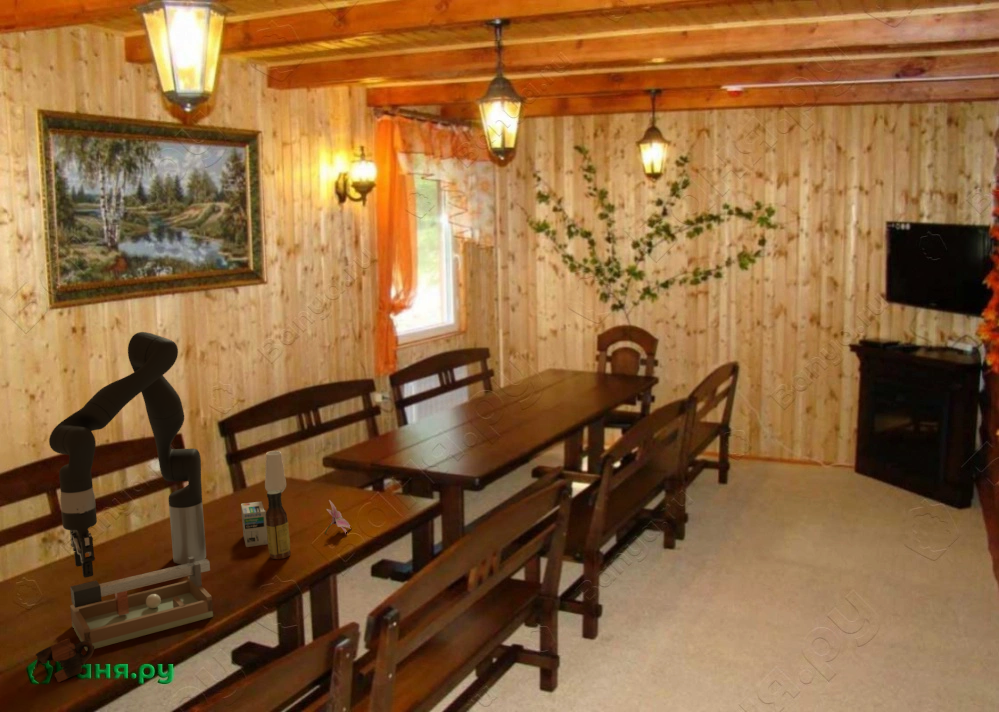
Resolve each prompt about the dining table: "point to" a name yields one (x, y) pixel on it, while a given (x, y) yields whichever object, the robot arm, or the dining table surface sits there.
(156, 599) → the ball
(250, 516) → the light bulb box
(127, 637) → the wooden tray
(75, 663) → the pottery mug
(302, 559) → the dining table surface
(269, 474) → the champagne flute
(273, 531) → the sauce bottle
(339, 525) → the lily
